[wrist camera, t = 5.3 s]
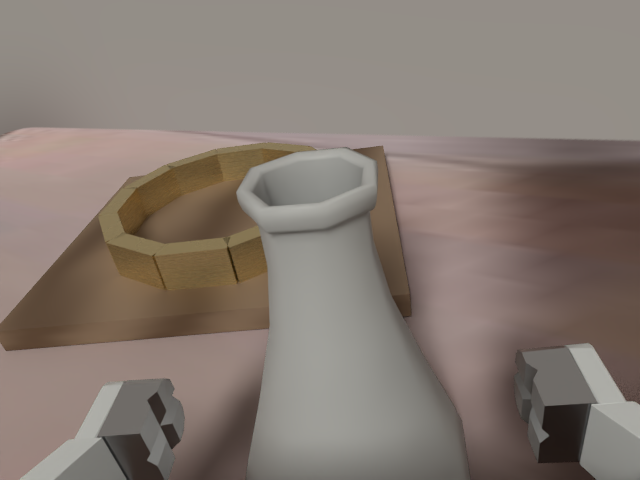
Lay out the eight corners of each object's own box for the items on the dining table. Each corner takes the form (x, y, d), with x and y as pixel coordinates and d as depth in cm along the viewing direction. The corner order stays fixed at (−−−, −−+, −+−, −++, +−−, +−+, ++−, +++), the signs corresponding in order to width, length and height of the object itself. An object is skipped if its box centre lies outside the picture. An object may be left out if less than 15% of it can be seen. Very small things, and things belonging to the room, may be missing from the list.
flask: (240, 399, 19) (156, 153, 14) (420, 351, 19) (406, 100, 14) (257, 615, 13) (116, 316, 7) (521, 534, 13) (559, 209, 8)
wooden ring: (342, 161, 34) (338, 133, 33) (341, 273, 23) (335, 236, 22) (158, 183, 35) (149, 157, 34) (71, 300, 24) (54, 266, 23)
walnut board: (384, 161, 36) (382, 145, 35) (411, 315, 21) (409, 293, 21) (135, 191, 38) (129, 177, 37) (5, 350, 23) (-7, 331, 23)
